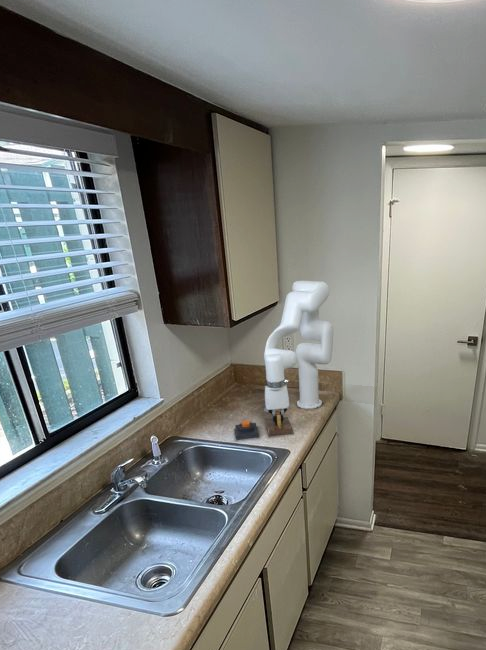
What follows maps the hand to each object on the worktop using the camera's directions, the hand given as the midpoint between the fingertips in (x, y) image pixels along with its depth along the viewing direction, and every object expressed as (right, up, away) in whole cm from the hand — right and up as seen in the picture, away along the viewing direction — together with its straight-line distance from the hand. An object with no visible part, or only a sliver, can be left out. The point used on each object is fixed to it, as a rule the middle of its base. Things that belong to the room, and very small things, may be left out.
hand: (278, 422), depth 191 cm
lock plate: (0, -3, +1) cm, 3 cm away
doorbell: (-14, -5, -2) cm, 14 cm away
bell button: (-14, -1, -3) cm, 14 cm away
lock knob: (0, 0, 0) cm, 0 cm away
